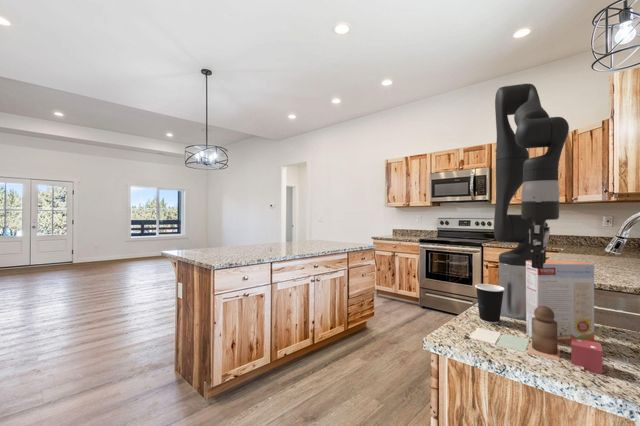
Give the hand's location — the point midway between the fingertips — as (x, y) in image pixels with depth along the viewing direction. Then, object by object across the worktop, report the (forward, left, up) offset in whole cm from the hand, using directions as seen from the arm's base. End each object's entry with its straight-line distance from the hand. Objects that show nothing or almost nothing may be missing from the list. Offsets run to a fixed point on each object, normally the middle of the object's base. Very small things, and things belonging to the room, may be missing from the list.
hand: (538, 265), depth 74 cm
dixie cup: (-13, -13, -21) cm, 28 cm away
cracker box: (-11, +4, -21) cm, 24 cm away
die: (+2, +9, -21) cm, 23 cm away
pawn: (0, +1, -20) cm, 20 cm away
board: (0, -5, -21) cm, 22 cm away
